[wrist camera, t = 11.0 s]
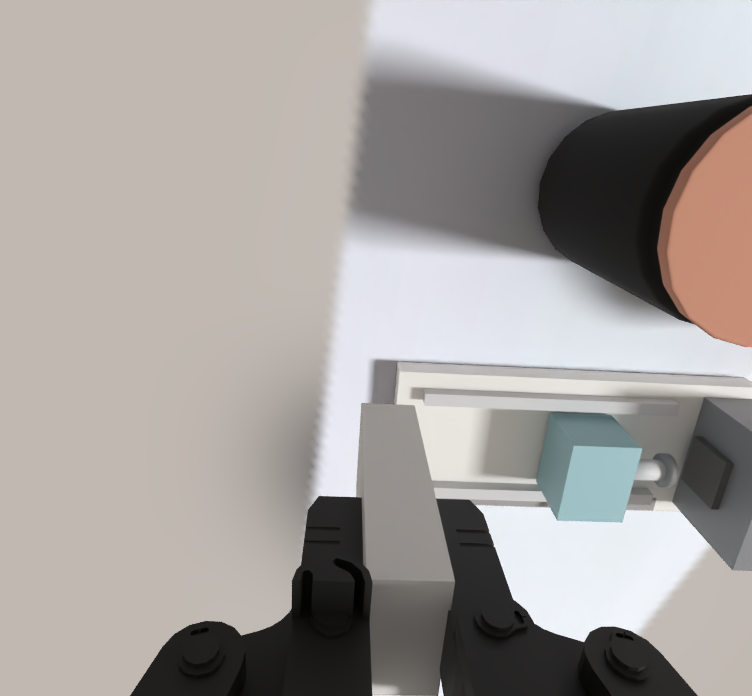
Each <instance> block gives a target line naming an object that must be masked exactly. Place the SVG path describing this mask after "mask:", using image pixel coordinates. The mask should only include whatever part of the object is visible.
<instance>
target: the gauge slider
mask: <svg viewBox="0 0 752 696" xmlns="http://www.w3.org/2000/svg"><path fill="white" fill-rule="evenodd" d="M642 449H643V448H642V447H641V446H640V445H639V444H638V443H637V442H636V441H635V440H634V439H633V438H632V437H631V436H630V434H629V433H628V432H627V431H626V430H625V429H624V428H623V427H622V426H621V425H620V424H619V423H618V422H617V421H616V420H615V419H614V418H613V416H612V415H595V414H571V413H550V414H549V419H548V424H547V429H546V434H545V439H544V444H543V449H542V454H541V459H540V464H539V469H538V474H537V479H536V482H537V484H538V486H539V488H540V489H541V491H542V493H543V495H544V497H545V499H546V501H547V502H548V504H549V506H550V508H551V510H552V512H553V514H554V515H555V517H556V519H557V520H559V521H592V522H623V518H624V514H625V511H626V507H627V503H628V500H629V496H630V492H631V489H632V485H633V482H634V480H651V481H654V482H655V483H656V485H657V486H659V487H661V488H672V487H673V486H675V484H676V483H677V480H678V466H677V463H676V461H675V459H674V457H673V456H672V455H670V454H668V453H657V454H656V455H655V456H654V457H653V459H640V456H641V452H642Z"/></svg>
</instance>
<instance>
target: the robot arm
mask: <svg viewBox="0 0 752 696" xmlns="http://www.w3.org/2000/svg"><path fill="white" fill-rule="evenodd" d="M440 679H441V682H442V688H443V694H444V696H697V695H696V693H695V692H694V691H693V690H692V689H691V688H690V686H689V685H688V684H687V683H686V682H685V681H684V679H682V677H681V676H680V675H679V674H678V672H677V671H676V670H675V669H674V668H673V667H672V666H671V664H670V663H669V662H668V661H667V660H666V659H665V658H664V656H663V655H662V654H661V653H660V652H659V651H658V650H657V649H656V648H655V647H654V646H653V645H652V644H650V643H649V642H648V641H647V640H646V639H643V638H642V637H640V636H638V635H637V634H635V633H633V632H631V631H628V630H625V629H621V628H618V627H600V628H598V629H595V630H593V631H591V632H590V633H589V635H588V637H587V638H586V640H585V642H581V641H578V640H574V639H571V638H568V637H564V636H561V635H557V634H554V633H552V632H549V631H547V630H544V629H542V628H541V627H539V626H537V625H536V624H534V622H533V620H532V619H531V617H530V615H529V614H528V612H527V611H526V610H525V609H524V608H523V607H522V606H520V605H519V604H518V603H517V602H516V601H514V600H513V598H512V595H511V593H510V590H509V587H508V584H507V581H506V578H505V575H504V572H503V570H502V567H501V564H500V561H499V558H498V555H497V552H496V549H495V547H494V544H493V541H492V538H491V535H490V534H489V529H488V526H487V523H486V521H485V518H484V515H483V513H482V512H481V511H480V510H479V509H478V508H477V507H476V506H475V505H474V504H473V503H472V502H471V501H470V500H469V499H438V498H436V496H435V492H434V488H433V483H432V479H431V475H430V470H429V466H428V462H427V457H426V453H425V448H424V444H423V440H422V435H421V431H420V427H419V422H418V418H417V414H416V409H415V405H398V404H375V403H362V404H361V420H360V436H359V452H358V468H357V484H356V497H329V496H319V497H318V498H317V499H316V501H315V502H314V503H313V504H312V506H311V507H310V508H309V510H308V515H307V523H306V531H305V538H304V546H303V554H302V562H301V566H300V567H299V568H298V569H297V570H296V572H295V575H294V577H293V580H292V609H291V611H290V613H288V614H287V615H286V616H285V617H284V618H283V619H282V620H281V621H279V622H278V623H276V624H274V625H273V626H271V627H268V628H266V629H263V630H260V631H257V632H253V633H250V634H246V635H242V636H241V635H240V634H239V633H238V631H237V630H236V629H235V628H234V627H232V626H230V625H227V624H225V623H222V622H214V621H204V622H200V623H196V624H192V625H189V626H187V627H186V628H184V629H182V630H181V631H179V632H178V633H175V634H174V635H173V636H172V637H171V638H170V639H169V641H168V642H167V643H166V644H165V645H164V646H163V647H162V649H161V650H160V652H159V653H158V655H157V656H156V658H155V659H154V661H153V662H152V664H151V665H150V667H149V668H148V670H147V671H146V673H145V674H144V676H143V677H142V679H141V680H140V682H139V683H138V685H137V686H136V688H135V689H134V691H133V692H132V694H131V695H130V696H372V695H400V696H438V692H439V686H440Z"/></svg>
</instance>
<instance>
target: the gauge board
mask: <svg viewBox="0 0 752 696" xmlns="http://www.w3.org/2000/svg"><path fill="white" fill-rule="evenodd" d="M394 404H398V405H415V409H416V414H417V418H418V422H419V427H420V431H421V435H422V440H423V444H424V448H425V453H426V457H427V462H428V466H429V470H430V475H431V479H432V483H433V488H434V492H435V496H436V498H438V499H469V500H470V501H471V502H472V503H473V504H474V505H485V506H516V507H548V508H550V506H549V504H548V502H547V501H546V499H545V497H544V495H543V493H542V491H541V489H540V488H539V486H538V484H537V482H536V479H537V474H538V469H539V464H540V459H541V454H542V449H543V444H544V439H545V434H546V429H547V424H548V419H549V414H550V413H571V414H595V415H612V416H613V418H614V419H615V420H616V421H617V422H618V423H619V424H620V425H621V426H622V427H623V428H624V429H625V430H626V431H627V432H628V433H629V434H630V436H631V437H632V438H633V439H634V440H635V441H636V442H637V443H638V444H639V445H640V446H641V447H642V448H643V449H642V452H641V456H640V459H653V457H654V456H655V455H656V454H657V453H668V454H670V455H672V456H673V457H674V459H675V461H676V463H677V466H678V480H677V483H676V484H675V486H673V487H672V488H661V487H659V486H657V485H656V483H655V482H654V481H651V480H634V482H633V485H632V489H631V492H630V496H629V500H628V503H627V507H626V510H643V511H674V512H681V513H682V514H683V515H684V516H685V517H686V518H687V519H688V520H689V522H690V523H691V524H692V525H693V526H694V527H695V528H696V529H697V531H698V532H699V533H700V534H701V535H702V536H703V537H704V539H705V540H706V541H707V542H708V543H709V544H710V545H711V546H712V548H713V549H714V550H715V551H716V552H717V553H718V554H719V555H720V557H721V558H722V559H723V560H724V561H725V562H726V563H727V564H728V566H729V567H730V568H731V569H732V570H742V571H752V382H751V381H749V380H748V379H746V378H735V377H714V376H693V375H672V374H650V373H629V372H608V371H586V370H565V369H544V368H522V367H501V366H480V365H458V364H437V363H416V362H398V363H397V374H396V386H395V398H394Z"/></svg>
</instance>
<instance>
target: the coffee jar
mask: <svg viewBox="0 0 752 696" xmlns="http://www.w3.org/2000/svg"><path fill="white" fill-rule="evenodd" d="M538 210H539V214H540V218H541V222H542V226H543V230H544V232H545V234H546V235H547V237H548V238H549V240H550V241H551V243H552V244H553V246H554V247H555V249H556V250H558V251H559V252H560V253H562V254H563V255H564V256H566V257H567V258H568V259H570V260H571V261H573V262H574V263H576V264H578V265H580V266H582V267H584V268H585V269H587V270H589V271H591V272H593V273H595V274H596V275H598V276H600V277H602V278H604V279H606V280H607V281H609V282H611V283H613V284H615V285H617V286H618V287H620V288H622V289H624V290H626V291H628V292H629V293H631V294H633V295H635V296H637V297H639V298H640V299H642V300H644V301H646V302H648V303H650V304H651V305H653V306H655V307H657V308H659V309H661V310H662V311H664V312H666V313H668V314H670V315H672V316H674V317H675V318H677V319H679V320H682V321H685V322H689V323H692V324H695V325H697V326H698V327H699V328H701V329H702V330H703V331H705V332H706V333H707V334H709V335H710V336H712V337H713V338H716V339H720V340H723V341H727V342H730V343H734V344H737V345H740V346H744V347H752V94H751V95H743V96H734V97H726V98H718V99H710V100H701V101H693V102H685V103H677V104H668V105H660V106H652V107H644V108H635V109H627V110H619V111H611V112H608V113H606V114H603V115H600V116H598V117H595V118H592V119H590V120H587V121H585V122H584V123H583V124H582V125H580V126H579V127H578V128H576V129H575V130H574V131H572V132H571V133H570V134H568V135H567V136H566V137H565V138H564V139H563V141H562V142H561V143H560V145H559V146H558V147H557V149H556V150H555V151H554V153H553V154H552V155H551V157H550V158H549V160H548V163H547V166H546V168H545V171H544V174H543V176H542V179H541V181H540V188H539V201H538Z"/></svg>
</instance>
